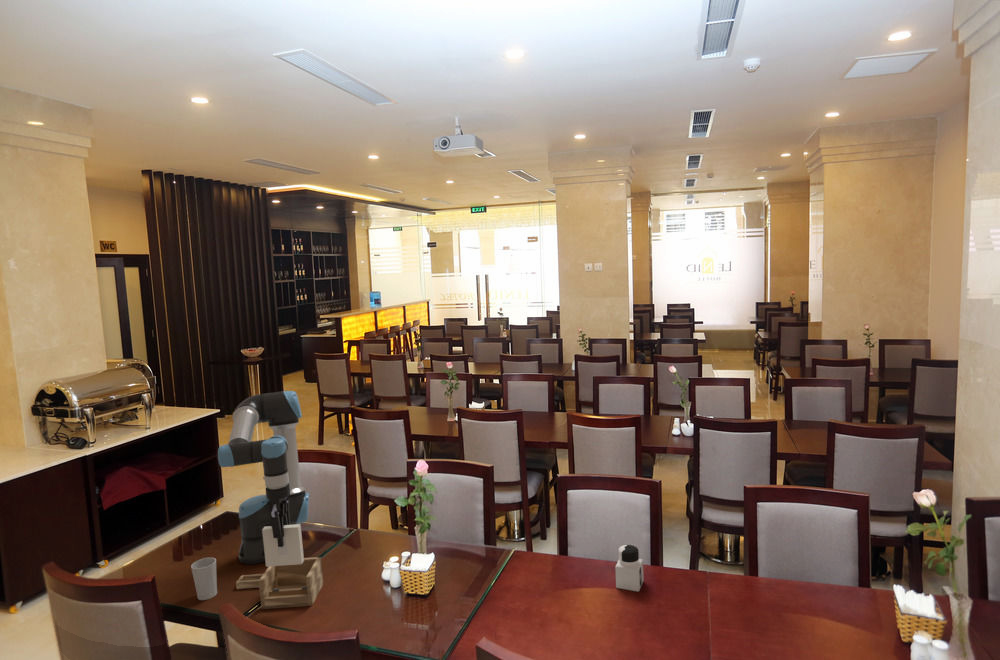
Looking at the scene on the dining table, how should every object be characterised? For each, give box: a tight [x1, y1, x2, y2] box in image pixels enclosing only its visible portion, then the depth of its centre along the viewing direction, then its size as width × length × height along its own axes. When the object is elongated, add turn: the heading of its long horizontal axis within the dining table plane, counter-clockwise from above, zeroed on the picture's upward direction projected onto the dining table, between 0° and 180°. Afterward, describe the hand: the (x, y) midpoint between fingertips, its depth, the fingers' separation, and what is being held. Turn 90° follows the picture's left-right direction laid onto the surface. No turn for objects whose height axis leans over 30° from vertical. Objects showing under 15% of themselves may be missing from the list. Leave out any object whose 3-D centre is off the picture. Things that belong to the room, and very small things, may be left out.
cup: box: [190, 557, 218, 601], centre depth 208 cm, size 8×8×12 cm
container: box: [615, 544, 644, 592], centre depth 198 cm, size 8×8×13 cm
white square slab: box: [262, 523, 305, 568], centre depth 198 cm, size 3×12×13 cm, turn 92°
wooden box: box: [258, 556, 324, 610], centre depth 204 cm, size 14×17×10 cm
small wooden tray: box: [235, 573, 264, 590], centre depth 214 cm, size 5×14×2 cm, turn 92°
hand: (284, 552), depth 198 cm, fingers closed on white square slab, 2 cm apart
